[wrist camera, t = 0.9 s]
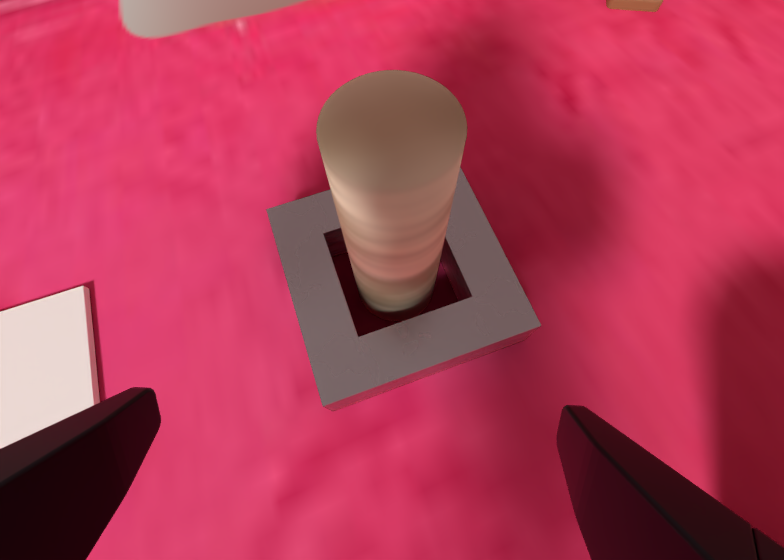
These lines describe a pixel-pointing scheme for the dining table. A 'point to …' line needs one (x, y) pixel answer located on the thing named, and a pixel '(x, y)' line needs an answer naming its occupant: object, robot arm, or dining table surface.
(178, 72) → the dining table surface
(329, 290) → the socket block
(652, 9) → the gingerbread man figurine
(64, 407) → the white mat
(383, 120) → the birch peg
